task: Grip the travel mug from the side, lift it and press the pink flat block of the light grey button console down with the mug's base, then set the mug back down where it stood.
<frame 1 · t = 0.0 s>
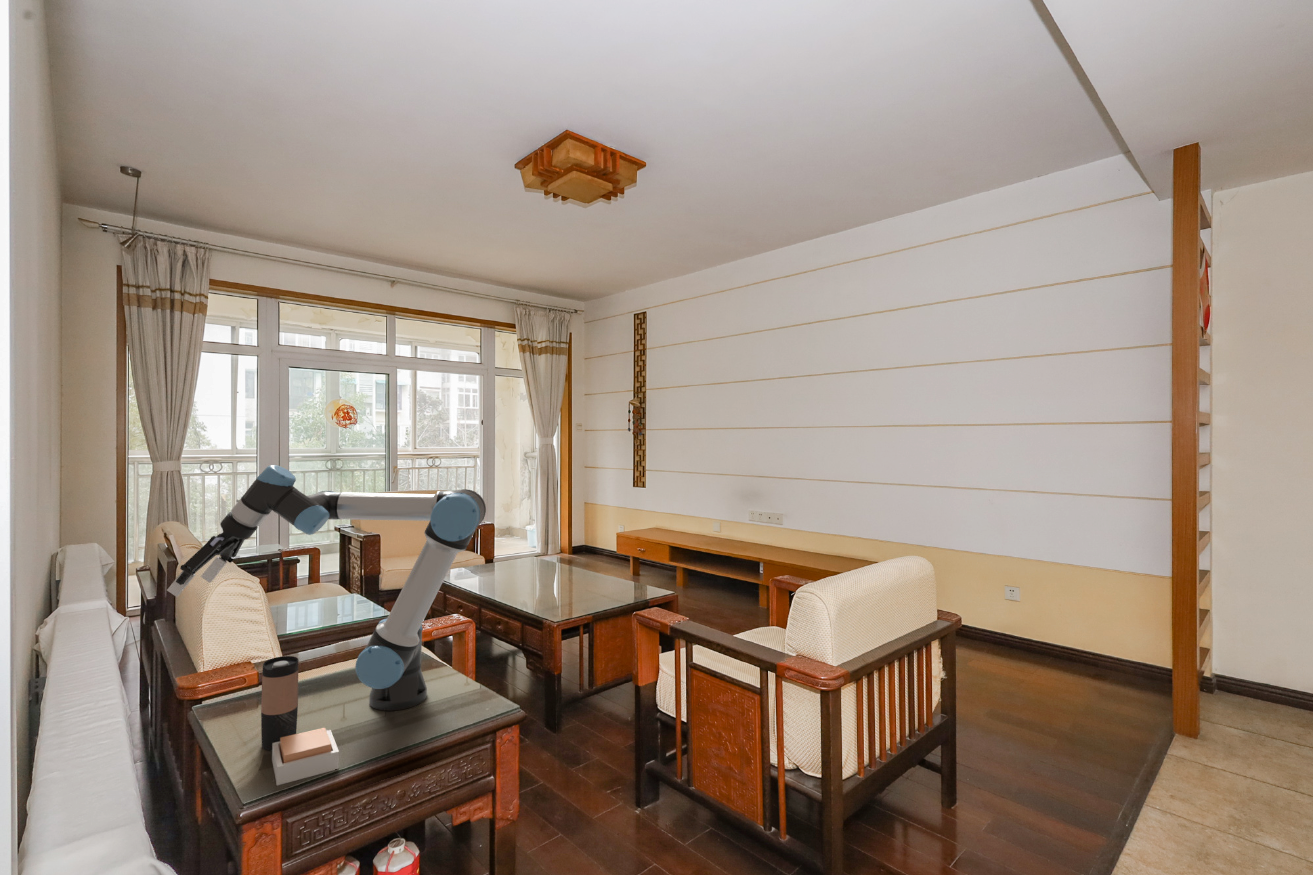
hand: (189, 586, 156), 36 cm above the table, tool tilted 35°, fingers open, 13 cm apart
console: (305, 764, 142), on the table
travel mug: (278, 743, 151), on the table
pink flat block: (305, 747, 142), point 4 cm above the table, slide at 0.0 cm
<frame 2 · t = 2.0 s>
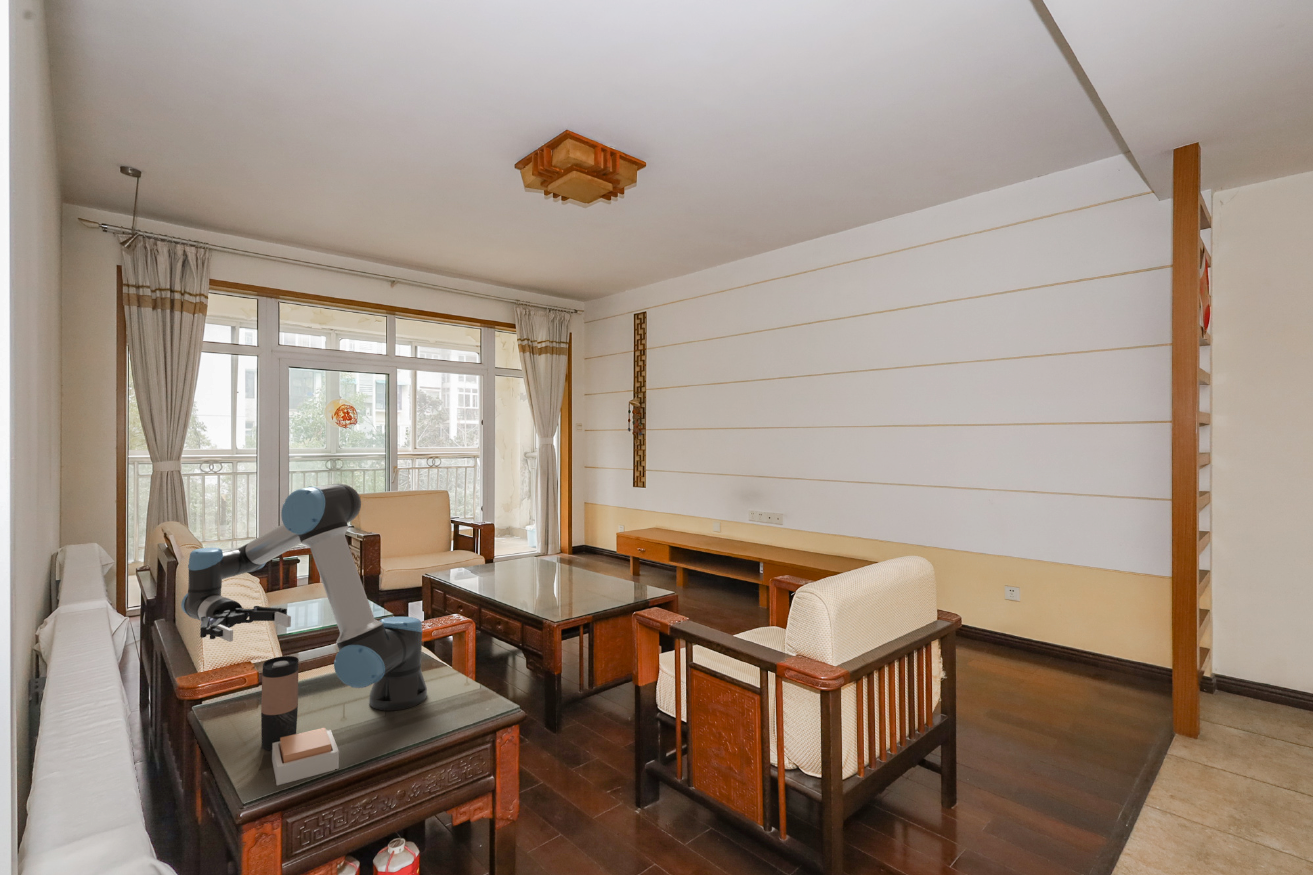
hand: (261, 628, 155), 26 cm above the table, tool horizontal, fingers open, 13 cm apart
nothing on the table moved.
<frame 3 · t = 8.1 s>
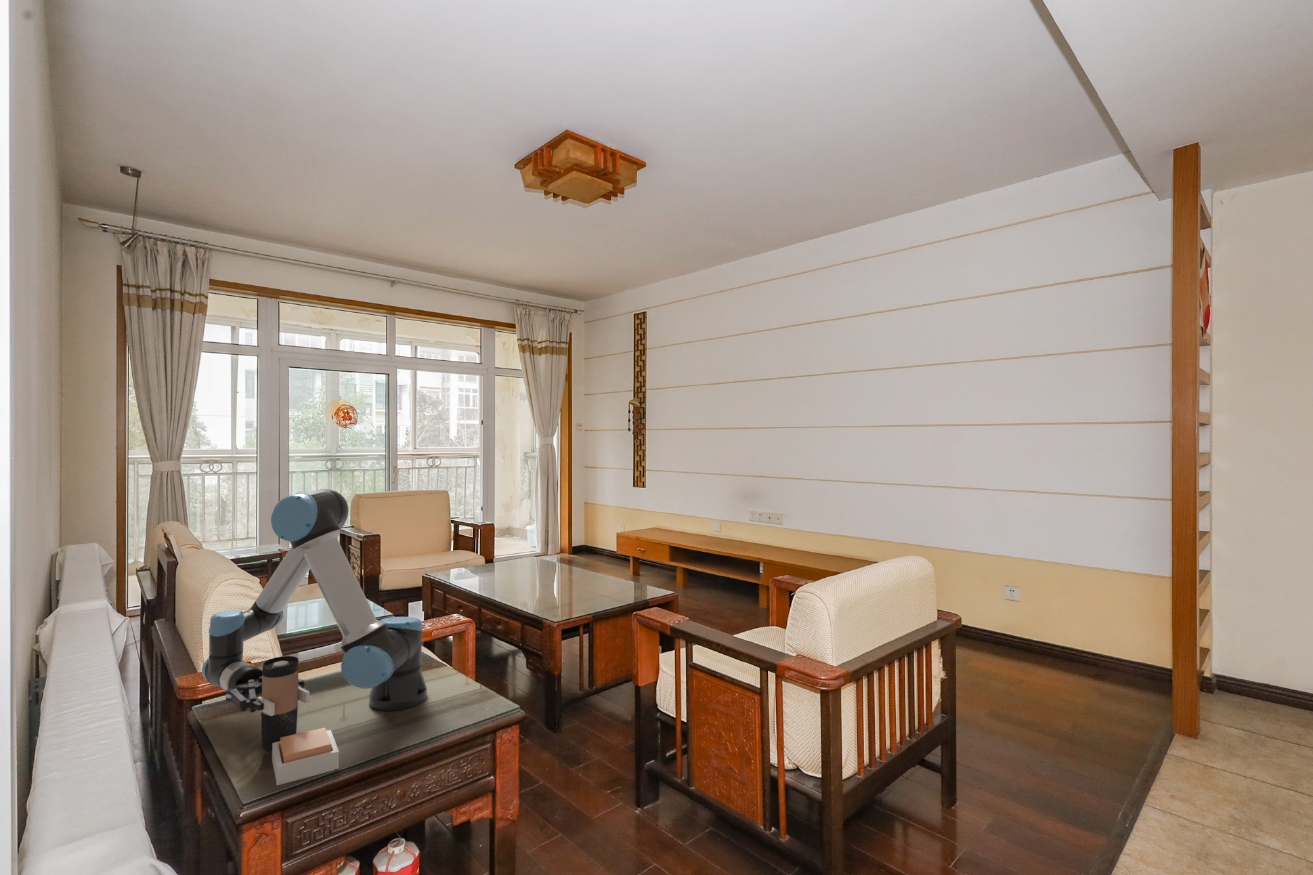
hand: (290, 703, 148), 11 cm above the table, tool horizontal, fingers closed on travel mug, 7 cm apart
travel mug: (278, 743, 151), on the table, touching gripper
everything else where it was.
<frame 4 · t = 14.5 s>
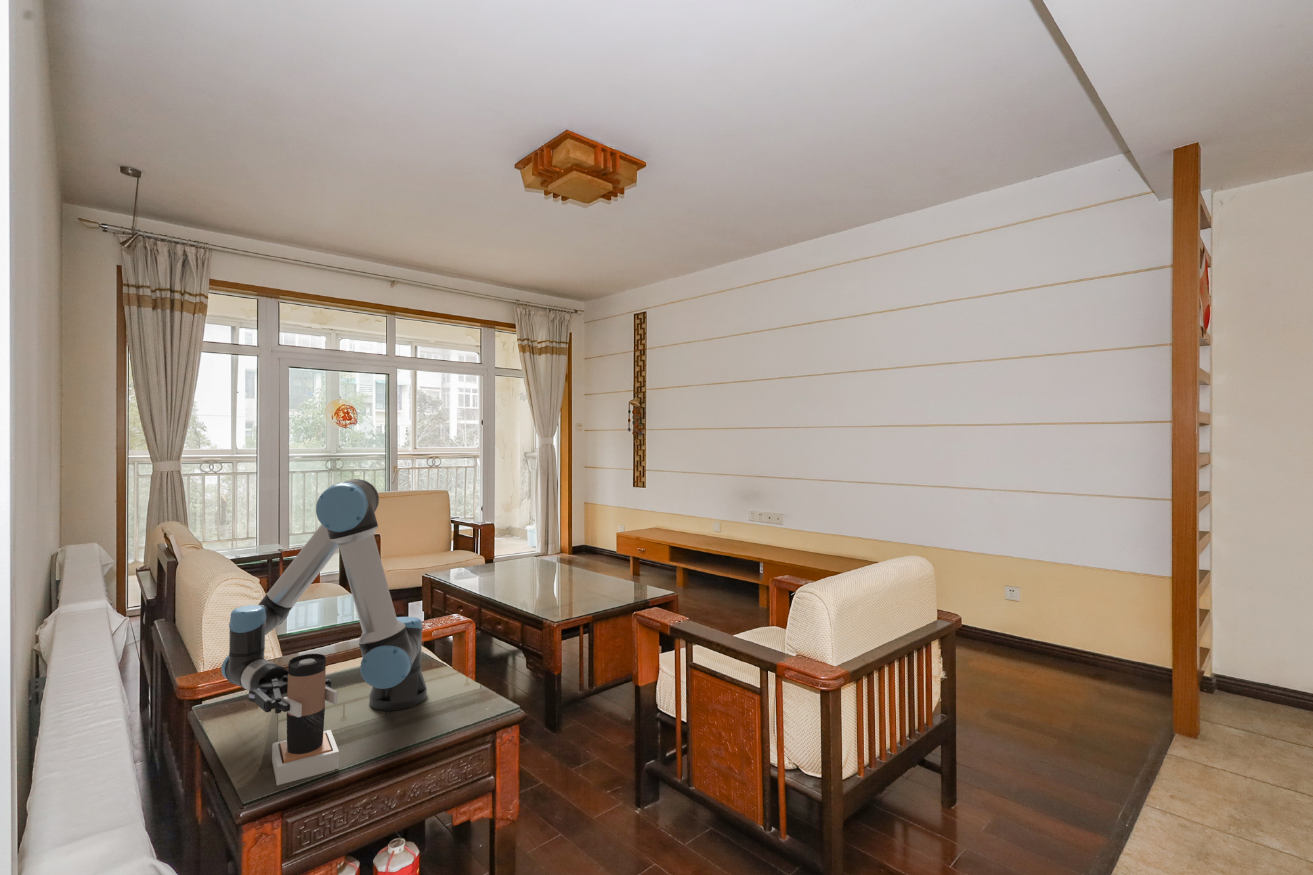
hand: (318, 704, 139), 15 cm above the table, tool horizontal, fingers closed on travel mug, 7 cm apart
travel mug: (305, 746, 142), point 4 cm above the table, touching gripper, pink flat block
pink flat block: (305, 752, 142), point 3 cm above the table, slide at 1.3 cm, touching travel mug
when the fingers open (12 cm above the table, at t = 20.7 s): travel mug drops 1 cm, on the table.
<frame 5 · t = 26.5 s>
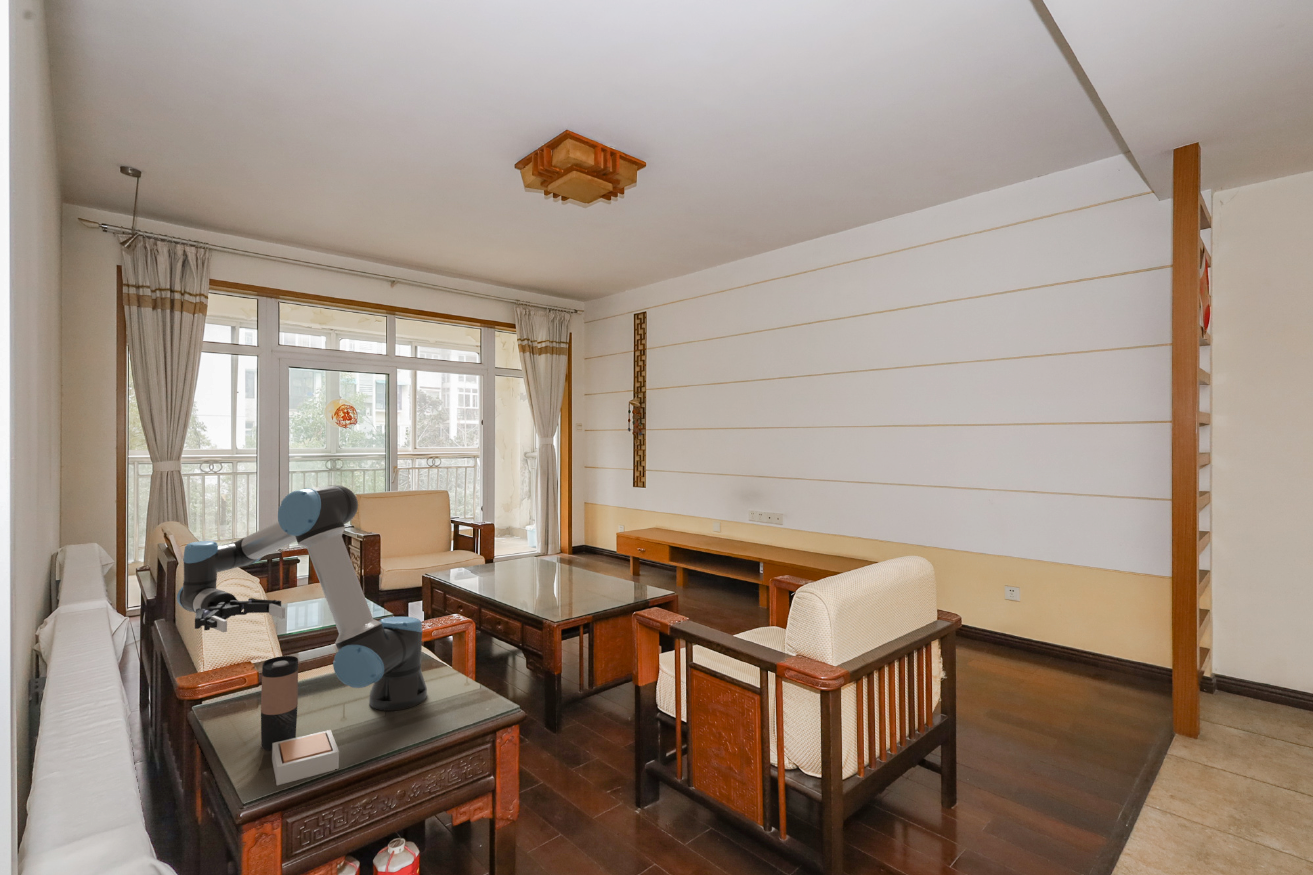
hand: (255, 619, 156), 28 cm above the table, tool horizontal, fingers open, 13 cm apart
travel mug: (278, 743, 151), on the table
pink flat block: (305, 752, 142), point 3 cm above the table, slide at 1.3 cm
at the end: pink flat block slide at 1.3 cm; travel mug tilted 0°; travel mug inside the target area (0.1 cm from its centre), on the table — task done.
